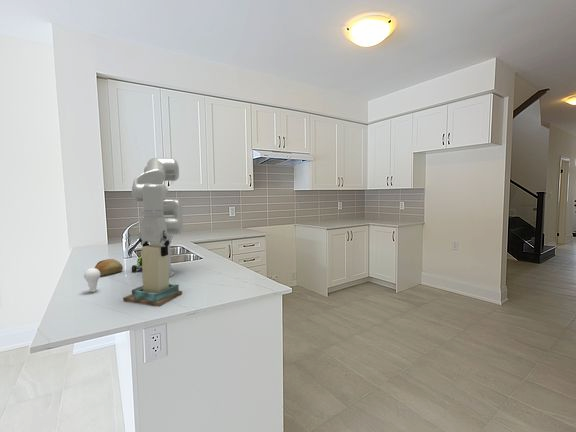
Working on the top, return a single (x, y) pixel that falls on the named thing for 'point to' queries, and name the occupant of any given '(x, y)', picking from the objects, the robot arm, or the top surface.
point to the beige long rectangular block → (154, 269)
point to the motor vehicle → (139, 264)
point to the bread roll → (109, 266)
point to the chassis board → (153, 296)
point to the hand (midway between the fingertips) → (155, 254)
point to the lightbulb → (92, 278)
